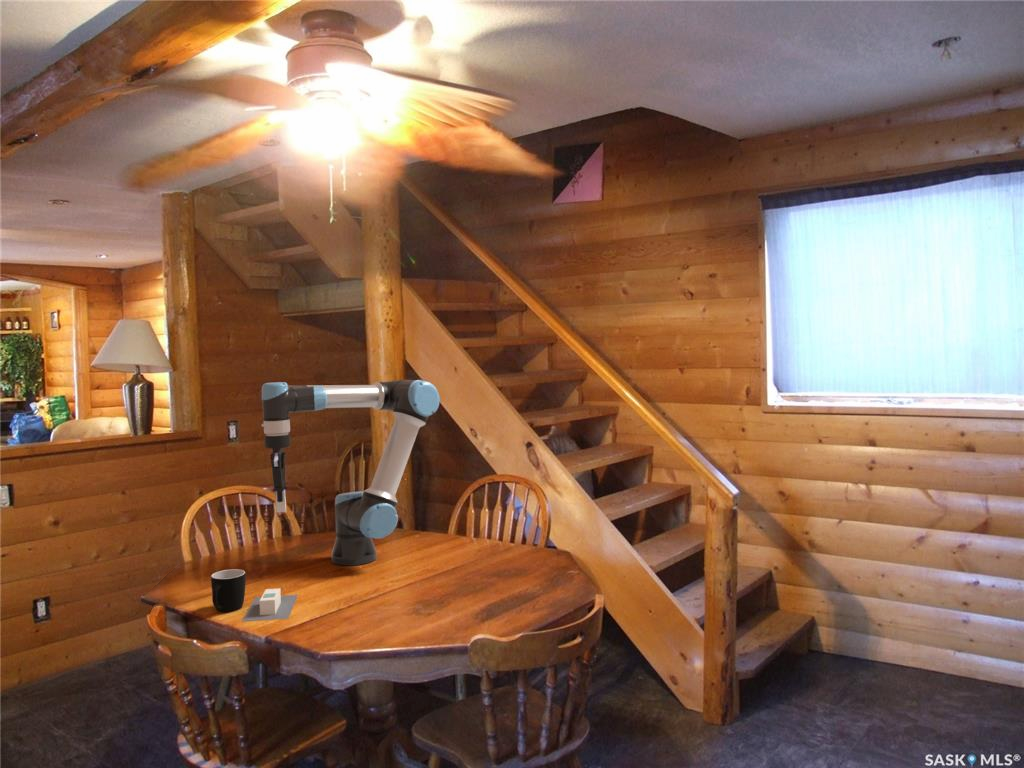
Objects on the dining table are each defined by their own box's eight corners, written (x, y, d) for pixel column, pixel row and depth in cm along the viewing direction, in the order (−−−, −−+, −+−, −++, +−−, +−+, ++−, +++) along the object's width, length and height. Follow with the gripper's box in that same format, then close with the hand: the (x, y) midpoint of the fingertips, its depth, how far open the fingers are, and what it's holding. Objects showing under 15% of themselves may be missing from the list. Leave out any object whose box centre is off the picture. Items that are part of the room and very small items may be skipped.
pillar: (280, 588, 220) (274, 599, 210) (280, 602, 221) (275, 614, 211) (265, 588, 220) (259, 600, 210) (266, 603, 220) (260, 615, 210)
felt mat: (298, 595, 227) (298, 594, 227) (288, 620, 207) (288, 618, 207) (255, 598, 225) (255, 597, 225) (241, 622, 206) (241, 621, 206)
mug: (223, 603, 221) (222, 568, 221) (252, 605, 220) (251, 569, 219) (199, 618, 210) (197, 581, 209) (229, 620, 208) (228, 582, 207)
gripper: (267, 432, 238) (271, 507, 240) (260, 437, 225) (265, 517, 227) (292, 430, 239) (296, 506, 241) (287, 436, 226) (291, 515, 228)
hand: (281, 511), depth 234 cm, fingers closed
